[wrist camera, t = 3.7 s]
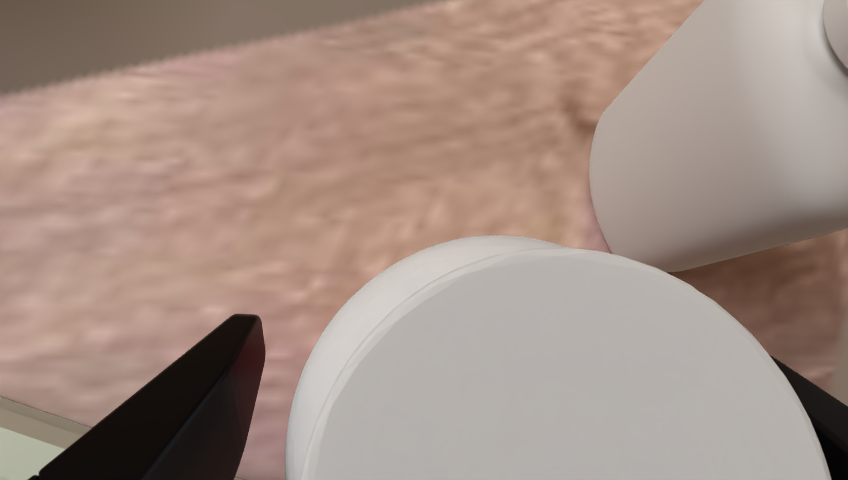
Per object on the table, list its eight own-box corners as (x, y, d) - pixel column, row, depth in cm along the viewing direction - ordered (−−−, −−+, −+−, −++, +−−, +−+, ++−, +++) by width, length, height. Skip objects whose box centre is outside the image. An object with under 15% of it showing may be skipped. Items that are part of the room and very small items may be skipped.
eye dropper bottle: (726, 146, 17) (1465, -293, 5) (671, 297, 16) (1459, 163, 4) (608, 92, 17) (1067, -452, 5) (545, 236, 16) (953, -56, 4)
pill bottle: (521, 268, 16) (789, 104, 5) (578, 473, 15) (1087, 835, 4) (324, 315, 15) (147, 244, 4) (368, 532, 14) (276, 1162, 3)
